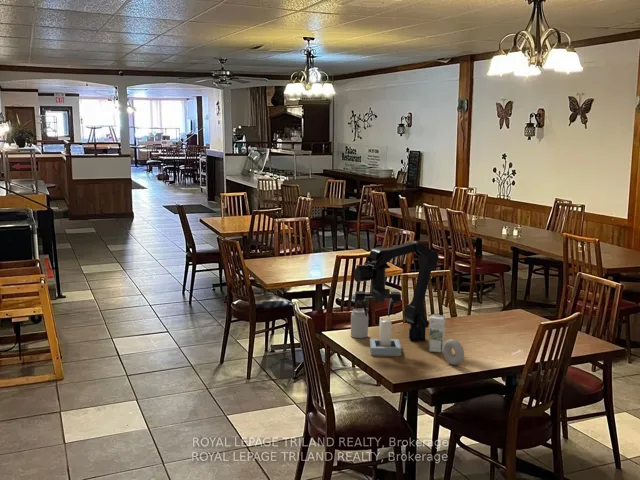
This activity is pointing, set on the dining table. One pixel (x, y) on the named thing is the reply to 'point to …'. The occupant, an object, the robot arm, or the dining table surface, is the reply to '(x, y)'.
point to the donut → (457, 348)
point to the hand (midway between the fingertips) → (377, 316)
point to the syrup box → (436, 333)
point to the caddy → (385, 348)
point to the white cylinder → (385, 333)
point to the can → (359, 324)
